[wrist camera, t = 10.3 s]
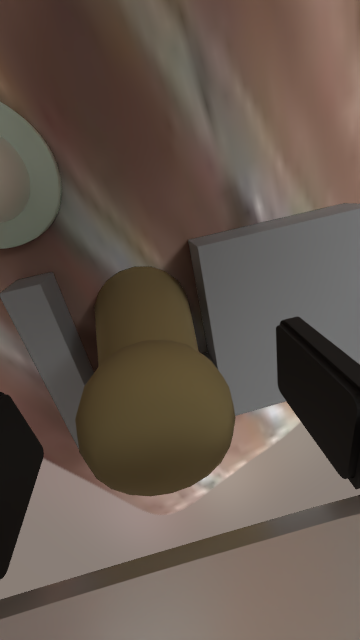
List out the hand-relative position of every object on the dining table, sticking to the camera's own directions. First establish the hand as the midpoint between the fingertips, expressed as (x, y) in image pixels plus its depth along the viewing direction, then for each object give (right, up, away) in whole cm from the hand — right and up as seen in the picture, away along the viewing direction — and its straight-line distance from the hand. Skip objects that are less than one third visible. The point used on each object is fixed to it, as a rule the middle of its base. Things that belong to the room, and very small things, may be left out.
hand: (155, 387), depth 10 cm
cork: (-2, +3, +8) cm, 9 cm away
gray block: (+2, +2, +9) cm, 10 cm away
